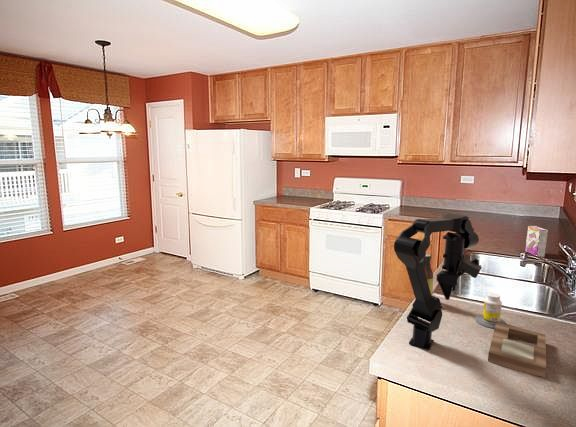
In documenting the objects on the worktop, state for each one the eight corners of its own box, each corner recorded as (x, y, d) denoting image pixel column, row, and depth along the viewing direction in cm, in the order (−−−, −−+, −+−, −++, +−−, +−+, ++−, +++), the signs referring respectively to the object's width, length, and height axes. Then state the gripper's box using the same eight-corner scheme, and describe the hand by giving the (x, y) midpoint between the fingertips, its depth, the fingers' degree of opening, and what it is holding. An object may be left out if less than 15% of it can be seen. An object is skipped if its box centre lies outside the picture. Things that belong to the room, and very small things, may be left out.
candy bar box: (524, 252, 219) (527, 225, 216) (532, 252, 219) (535, 225, 215) (536, 257, 208) (540, 230, 205) (545, 257, 208) (548, 230, 204)
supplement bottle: (487, 316, 135) (490, 290, 133) (502, 322, 131) (505, 295, 129) (479, 320, 132) (481, 293, 130) (494, 326, 128) (497, 299, 126)
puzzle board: (544, 378, 100) (546, 366, 99) (487, 361, 108) (488, 350, 107) (544, 343, 118) (545, 332, 117) (495, 330, 126) (496, 321, 125)
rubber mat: (505, 331, 125) (505, 330, 125) (473, 323, 130) (473, 322, 130) (507, 320, 133) (507, 319, 133) (477, 313, 138) (477, 312, 138)
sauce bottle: (434, 300, 150) (438, 254, 146) (428, 305, 145) (432, 258, 141) (419, 296, 154) (422, 251, 150) (412, 300, 150) (415, 255, 146)
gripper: (476, 262, 109) (471, 311, 112) (484, 248, 124) (480, 291, 127) (437, 256, 115) (434, 302, 118) (449, 243, 130) (446, 284, 133)
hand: (450, 294), depth 124 cm, fingers open, 9 cm apart
